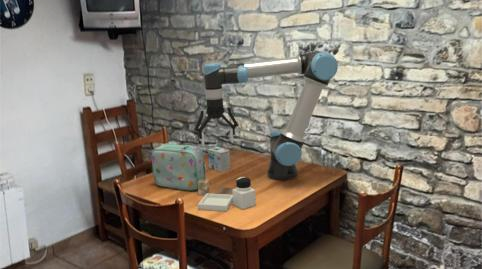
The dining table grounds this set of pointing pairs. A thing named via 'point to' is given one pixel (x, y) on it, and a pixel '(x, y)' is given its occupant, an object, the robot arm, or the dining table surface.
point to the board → (224, 190)
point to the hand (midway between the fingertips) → (217, 143)
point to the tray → (215, 202)
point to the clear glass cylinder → (203, 187)
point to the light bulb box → (219, 159)
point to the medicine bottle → (243, 193)
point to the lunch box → (178, 166)
